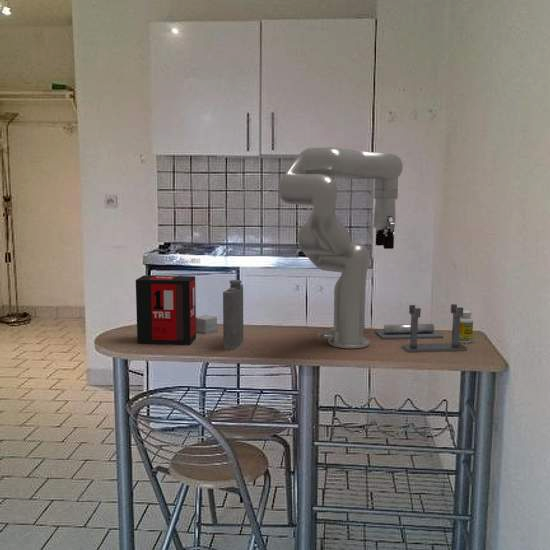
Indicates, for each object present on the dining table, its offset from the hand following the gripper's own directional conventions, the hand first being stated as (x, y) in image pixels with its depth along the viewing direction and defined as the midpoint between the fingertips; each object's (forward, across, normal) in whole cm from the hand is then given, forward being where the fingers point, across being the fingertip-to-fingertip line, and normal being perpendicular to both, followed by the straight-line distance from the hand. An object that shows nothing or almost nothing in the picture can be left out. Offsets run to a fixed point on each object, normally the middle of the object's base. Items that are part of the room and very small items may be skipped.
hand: (384, 246), depth 212 cm
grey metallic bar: (+26, +7, +7) cm, 28 cm away
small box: (+29, -5, -59) cm, 66 cm away
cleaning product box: (+29, +7, -71) cm, 77 cm away
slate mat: (+28, +7, +7) cm, 30 cm away
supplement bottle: (+28, +16, +22) cm, 39 cm away
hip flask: (+29, +13, -50) cm, 59 cm away
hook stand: (+28, +24, +10) cm, 38 cm away
